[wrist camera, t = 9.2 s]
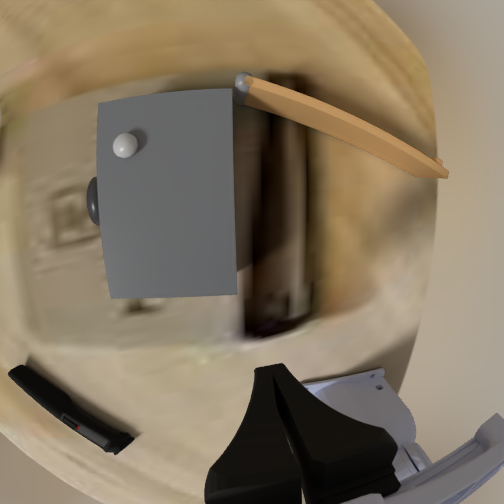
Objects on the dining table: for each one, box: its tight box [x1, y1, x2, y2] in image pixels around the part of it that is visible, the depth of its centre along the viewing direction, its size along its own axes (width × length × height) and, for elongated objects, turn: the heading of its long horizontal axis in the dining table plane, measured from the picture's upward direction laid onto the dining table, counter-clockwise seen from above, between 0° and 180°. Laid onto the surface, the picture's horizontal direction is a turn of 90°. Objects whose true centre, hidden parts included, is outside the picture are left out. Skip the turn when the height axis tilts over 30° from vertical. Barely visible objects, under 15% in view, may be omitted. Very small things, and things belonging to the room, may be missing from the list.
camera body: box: [87, 88, 238, 298], centre depth 16 cm, size 9×12×4 cm
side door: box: [233, 72, 449, 178], centre depth 17 cm, size 1×16×4 cm, turn 73°
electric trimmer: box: [8, 365, 134, 455], centre depth 21 cm, size 4×16×3 cm, turn 48°
